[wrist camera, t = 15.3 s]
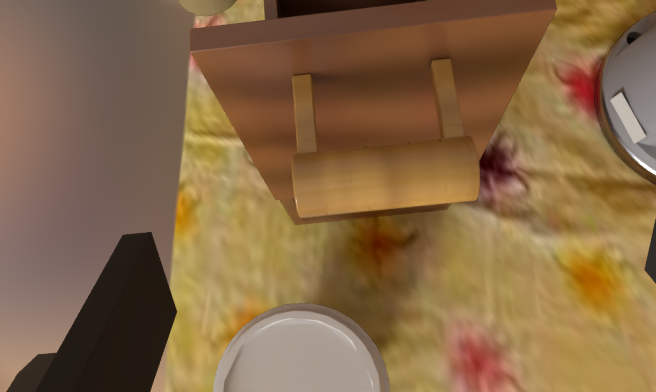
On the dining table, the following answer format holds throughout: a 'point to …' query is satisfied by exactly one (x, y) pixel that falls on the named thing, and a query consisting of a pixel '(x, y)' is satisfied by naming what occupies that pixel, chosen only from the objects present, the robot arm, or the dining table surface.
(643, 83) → the robot arm
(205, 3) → the tan rounded upright piece
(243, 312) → the dining table surface
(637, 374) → the dining table surface
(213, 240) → the dining table surface
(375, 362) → the disposable coffee cup
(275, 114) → the lid
